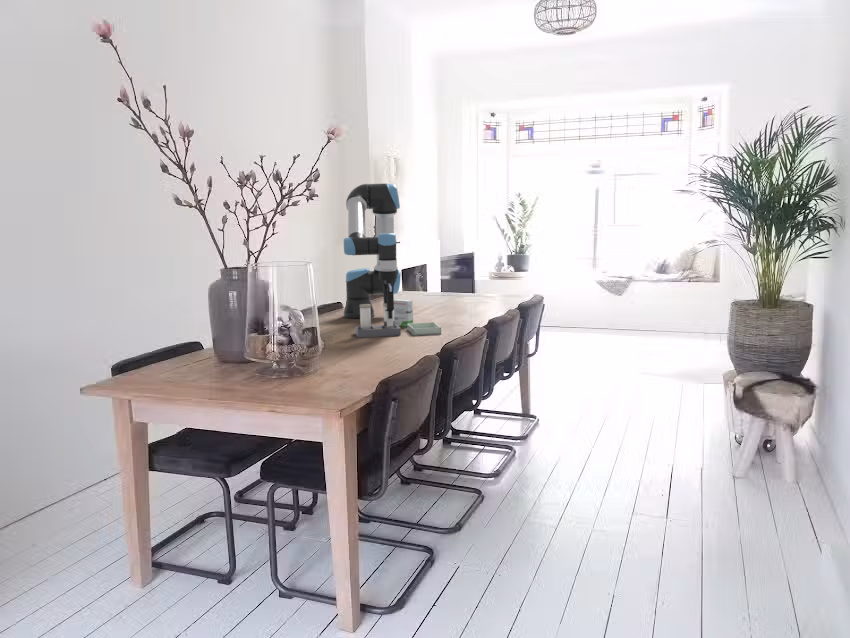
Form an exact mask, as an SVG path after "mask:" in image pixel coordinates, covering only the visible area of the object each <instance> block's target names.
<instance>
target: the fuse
mask: <svg viewBox="0 0 850 638" xmlns="http://www.w3.org/2000/svg"><path fill="white" fill-rule="evenodd" d="M371 304H372V303H371ZM371 304H360V318H359V320H360V321H359V322H360V323H359V324H360V325H359V326H361V329H371V326H372V317H371V309H370V307H371Z"/></svg>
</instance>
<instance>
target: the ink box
mask: <svg viewBox="0 0 850 638" xmlns="http://www.w3.org/2000/svg"><path fill="white" fill-rule="evenodd" d="M413 305H414V304H413V300H411V299H399V298H398V299H397V298H396V299H394V324H397V325H398V326H399V327H400V328H401V327H405V328H407V324H408V323H414V309H413V308H414V307H413Z"/></svg>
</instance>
